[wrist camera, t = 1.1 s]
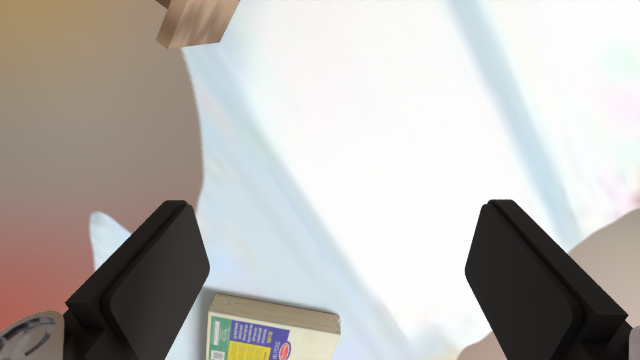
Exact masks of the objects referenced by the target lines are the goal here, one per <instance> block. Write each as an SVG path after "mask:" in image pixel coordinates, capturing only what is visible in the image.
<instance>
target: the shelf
mask: <svg viewBox="0 0 640 360" xmlns="http://www.w3.org/2000/svg"><path fill="white" fill-rule="evenodd" d="M156 1H158V2H159V3H160V4H161V5H163V6H164V7H166V8H167V9H168V10H167V13H166V15H165V18H164V21H163V23H162V26H161V28H160V31H159V33H158V36H157V38H156V41H157V42H158V43H160V44H161V45H163V46H164V47H166V48H167V49H170V48H178V47H186V46H194V45H202V44H210V43H218V42H220V40H221V38H222V36H223V34H224V32H225V30H226V28H227V26H228V24H229V22H230V20H231V18H232V16H233V14H234V12H235V10H236V8H237V6H238V4H239V2H240V0H156Z"/></svg>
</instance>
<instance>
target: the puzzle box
mask: <svg viewBox="0 0 640 360" xmlns="http://www.w3.org/2000/svg"><path fill="white" fill-rule="evenodd" d="M340 335H341V332H340V316H339V315H334V314H329V313H323V312H317V311H312V310H306V309H300V308H295V307H289V306H284V305H278V304H273V303H267V302H262V301H256V300H251V299H245V298H240V297H234V296H228V295H223V294H217V293H216V295H215V297H214V299H213V301H212V303H211V306H210V308H209V311H208V326H207V344H206V360H331V359H332V356H333V354H334V351H335V348H336V346H337V343H338V340H339V338H340Z"/></svg>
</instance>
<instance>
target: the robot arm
mask: <svg viewBox="0 0 640 360" xmlns="http://www.w3.org/2000/svg"><path fill="white" fill-rule="evenodd" d="M209 271H210V265H209V261H208V257H207V254H206V251H205V247H204V244H203V241H202V237H201V234H200V230H199V227H198V224H197V220H196V217H195V214H194V210H193V207H192V206H191V205H188V203H187V202H186V201H184V200H167V201H165V202H163V203H162V205H161V206H159V207H158V209H157V210H156V211H155V212H154V213H153V214H152V215H151V216H150V217H149V218H148V219H147V220H146V221H145V222H144V223H143V224H142V225H141V226H140V227H139V228H138V229H137V230H136V231H135V232H134V233H133V234H132V235H131V236H130V237H129V238H128V239H127V240H126V241H125V242H124V243H123V244H122V245H121V246H120V247H119V248H118V249H117V250H116V251H115V252H114V253H113V254H112V255H111V256H110V257H109V258H108V259H107V260H106V261H105V262H104V263H103V264H102V265H101V266H100V267H99V268H98V269H97V270H96V271H95V273H94V274H93V275H92V276H91V277H90V278H89V279H88V280H87V281H86V282H85V283H84V284H83V285H82V286H81V287H80V288H79V289H78V290H77V291H76V292H75V293H74V294H73V295H72V296H71V297H70V298H69V299H68V300H67V301H66V302H65V303H66V305H67V306H68V308H69V309H68V311H66V312H65V314H64V315H62V314H61V313H59V312H56V311H45V312H39V313H36V314H33V315H30V316H27V317H25V318H23V319H21V320H19V321H17V322H15V323H13V324H12V325H10V326H9V327H7V328H6V329H4V330H3V331H1V332H0V360H165V358H166V356H167V354H168V352H169V350H170V348H171V346H172V344H173V342H174V340H175V338H176V337H177V335H178V333H179V331H180V329H181V327H182V325H183V323H184V321H185V319H186V317H187V315H188V313H189V311H190V310H191V308H192V306H193V304H194V302H195V300H196V298H197V296H198V294H199V292H200V290H201V288H202V286H203V284H204V282H205V281H206V279H207V277H208V274H209ZM465 276H466V279H467V281H468V283H469V285H470V287H471V289H472V291H473V293H474V295H475V297H476V299H477V301H478V303H479V305H480V307H481V309H482V311H483V312H484V314H485V316H486V318H487V320H488V322H489V324H490V326H491V328H492V330H493V332H494V334H495V336H496V338H497V340H498V342H499V344H500V346H501V348H502V350H503V352H504V354H505V356H506V358H507V360H640V326H637V327H635V328H632V327H631V326H630V325H629V324H628V323H627V322H626V321H625V319H626V318H627V317H628V314H627V313H626V312H625V311H624V310H623V309H622V308H621V307H620V306H619V305H618V304H617V303H616V302H615V301H614V300H613V299H612V298H611V297H610V296H609V295H608V294H607V293H606V292H605V291H604V290H603V289H602V288H601V287H600V286H599V285H598V284H597V283H596V282H595V281H594V280H593V279H592V278H591V277H590V276H589V275H588V274H587V273H586V272H585V271H584V270H583V269H582V268H581V267H580V266H579V265H578V264H577V263H576V262H575V261H574V260H573V259H572V258H571V257H570V256H569V255H568V254H567V253H566V252H565V251H564V250H563V249H562V248H561V247H560V246H559V245H558V244H557V243H556V242H555V241H554V240H553V239H552V238H551V237H550V236H549V235H548V234H547V233H546V232H545V231H544V230H543V229H542V228H541V227H540V226H539V225H538V224H537V223H536V222H535V221H534V220H533V219H532V218H531V217H530V216H529V215H528V214H527V213H526V212H525V211H523V210H522V209H521V208H520V207H519V206H518V205H517V204H516V203H515V202H514V201H513V200H489V202H488V203H487V204H484V205H483V206H482V208H481V211H480V215H479V219H478V222H477V226H476V229H475V233H474V237H473V240H472V244H471V248H470V251H469V255H468V259H467V262H466V266H465Z"/></svg>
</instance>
